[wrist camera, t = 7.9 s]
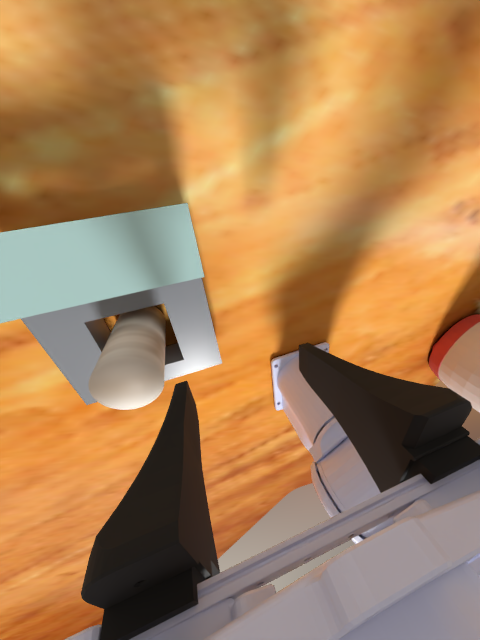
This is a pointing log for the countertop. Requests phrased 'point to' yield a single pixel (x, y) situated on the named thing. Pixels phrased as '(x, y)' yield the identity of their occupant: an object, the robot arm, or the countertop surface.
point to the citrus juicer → (460, 359)
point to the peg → (131, 361)
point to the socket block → (107, 287)
